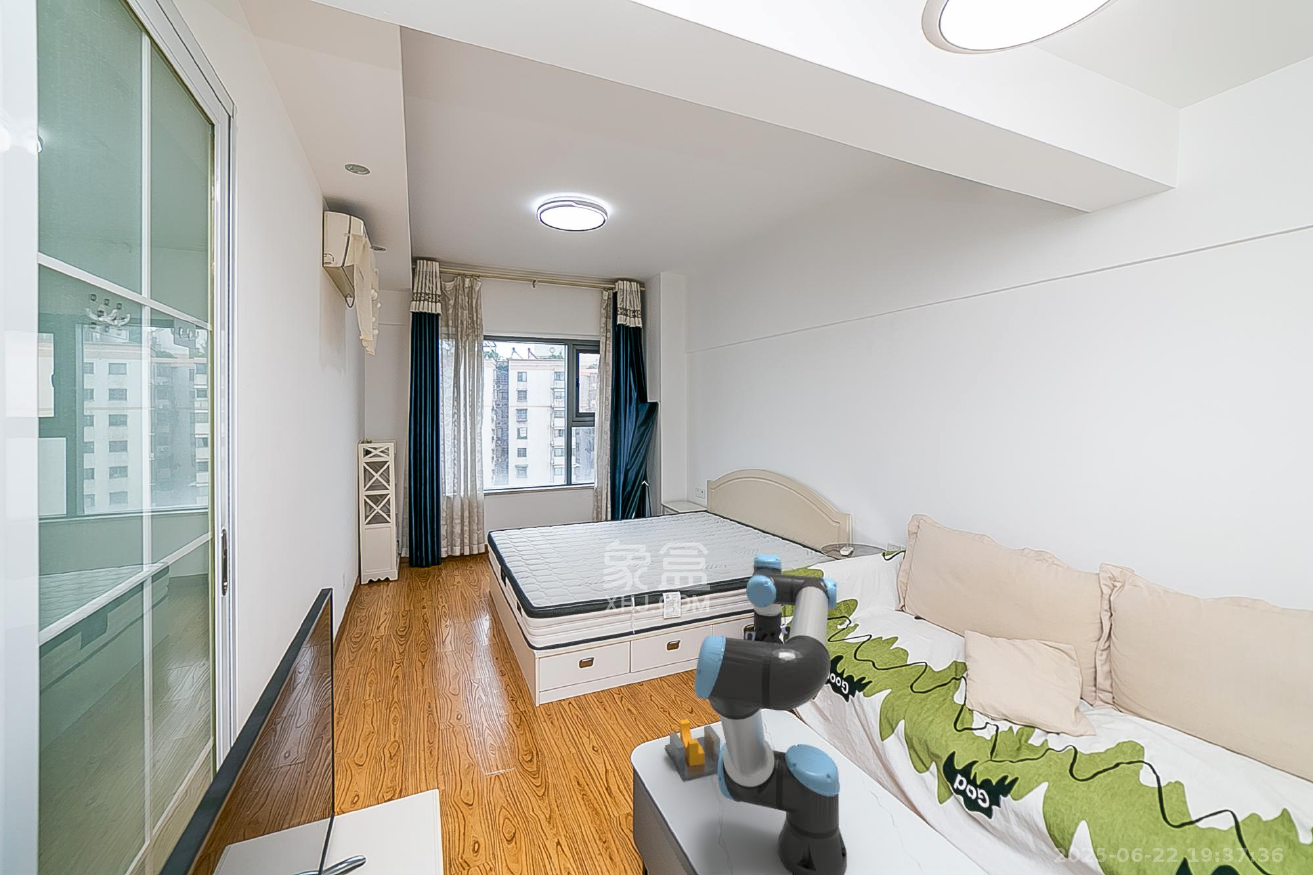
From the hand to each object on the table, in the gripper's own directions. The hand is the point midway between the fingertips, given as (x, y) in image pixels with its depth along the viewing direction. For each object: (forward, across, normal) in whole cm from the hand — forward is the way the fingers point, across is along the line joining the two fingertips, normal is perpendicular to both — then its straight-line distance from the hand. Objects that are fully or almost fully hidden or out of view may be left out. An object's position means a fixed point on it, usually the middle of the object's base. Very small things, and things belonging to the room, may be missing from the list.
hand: (767, 686), depth 153 cm
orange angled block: (+24, +16, -16) cm, 33 cm away
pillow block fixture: (+25, +16, -14) cm, 32 cm away
